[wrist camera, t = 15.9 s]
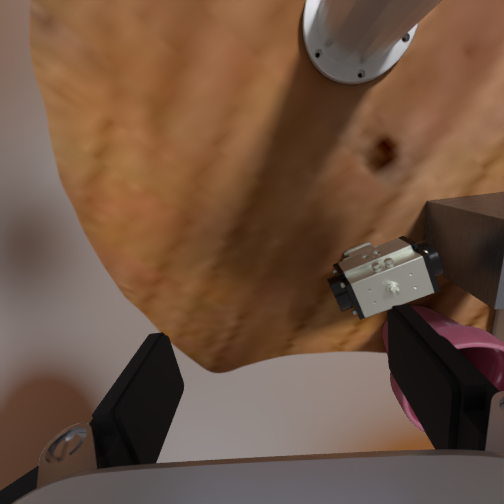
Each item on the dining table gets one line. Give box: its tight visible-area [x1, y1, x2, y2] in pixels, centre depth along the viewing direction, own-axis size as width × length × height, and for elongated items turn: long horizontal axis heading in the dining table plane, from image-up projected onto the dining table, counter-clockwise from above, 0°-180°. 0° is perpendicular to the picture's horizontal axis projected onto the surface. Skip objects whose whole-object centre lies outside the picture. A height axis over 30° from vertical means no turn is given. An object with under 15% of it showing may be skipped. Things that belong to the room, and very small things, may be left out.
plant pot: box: [382, 306, 504, 432], centre depth 36 cm, size 14×14×13 cm
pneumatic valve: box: [327, 236, 444, 319], centre depth 33 cm, size 6×12×12 cm, turn 116°
